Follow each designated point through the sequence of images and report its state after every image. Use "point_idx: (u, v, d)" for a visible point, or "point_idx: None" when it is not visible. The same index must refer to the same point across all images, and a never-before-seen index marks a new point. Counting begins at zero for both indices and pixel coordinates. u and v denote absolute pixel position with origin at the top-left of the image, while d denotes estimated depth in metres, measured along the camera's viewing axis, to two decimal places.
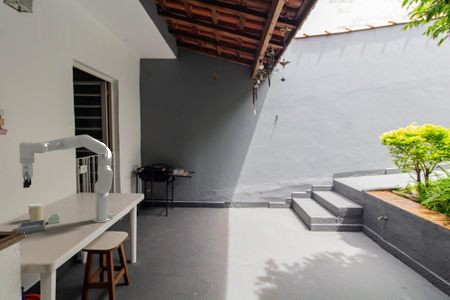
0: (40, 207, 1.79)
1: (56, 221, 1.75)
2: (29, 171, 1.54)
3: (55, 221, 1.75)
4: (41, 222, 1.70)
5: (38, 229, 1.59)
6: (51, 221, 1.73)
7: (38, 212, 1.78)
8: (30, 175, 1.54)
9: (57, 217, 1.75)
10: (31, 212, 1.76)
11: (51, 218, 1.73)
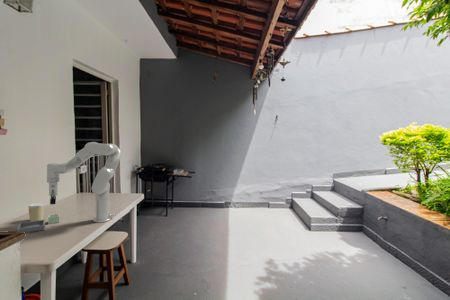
0: (40, 207, 1.79)
1: (56, 221, 1.75)
2: (55, 189, 1.72)
3: (55, 221, 1.75)
4: (41, 222, 1.70)
5: (38, 229, 1.59)
6: (51, 221, 1.73)
7: (38, 212, 1.78)
8: (56, 193, 1.73)
9: (57, 217, 1.75)
10: (31, 212, 1.76)
11: (51, 218, 1.73)
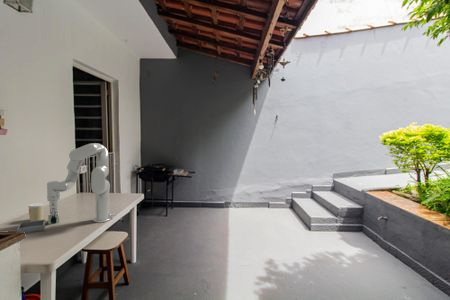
0: (40, 207, 1.79)
1: (56, 221, 1.75)
2: (56, 207, 1.73)
3: None
4: (41, 222, 1.70)
5: (38, 229, 1.59)
6: None
7: (38, 212, 1.78)
8: (56, 211, 1.74)
9: (57, 217, 1.75)
10: (31, 212, 1.76)
11: None
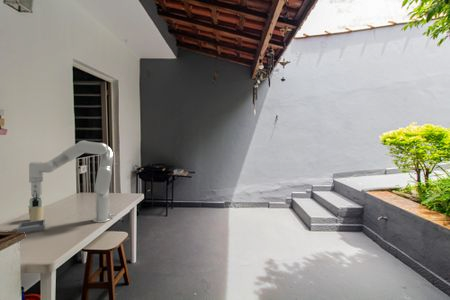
0: (40, 207, 1.79)
1: (38, 205, 1.63)
2: (38, 190, 1.61)
3: None
4: (41, 222, 1.70)
5: (38, 229, 1.59)
6: None
7: (38, 212, 1.78)
8: (39, 193, 1.62)
9: (39, 200, 1.63)
10: (31, 212, 1.76)
11: None
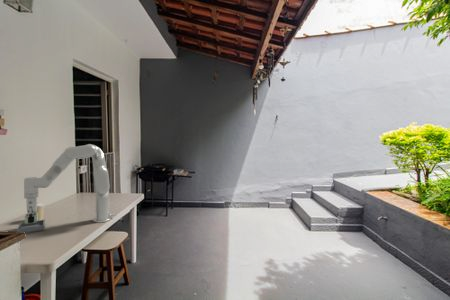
0: (40, 207, 1.79)
1: (34, 221, 1.61)
2: (33, 206, 1.59)
3: None
4: (41, 222, 1.70)
5: (38, 229, 1.59)
6: None
7: (38, 212, 1.78)
8: (34, 209, 1.59)
9: (35, 216, 1.61)
10: None
11: None
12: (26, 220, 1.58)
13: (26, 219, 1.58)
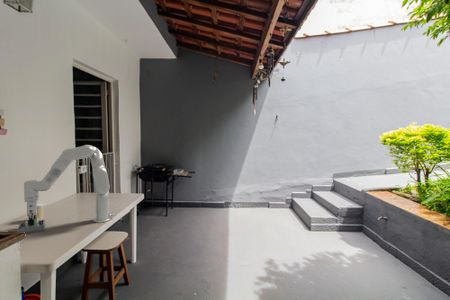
0: (40, 207, 1.79)
1: None
2: (33, 209, 1.59)
3: None
4: (41, 222, 1.70)
5: (38, 229, 1.59)
6: None
7: (38, 212, 1.78)
8: (34, 213, 1.59)
9: (35, 223, 1.61)
10: None
11: None
12: (27, 226, 1.59)
13: (27, 225, 1.59)
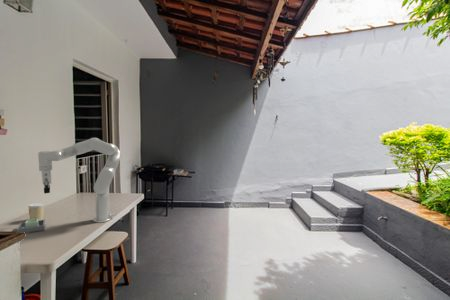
0: (40, 207, 1.79)
1: None
2: (48, 178, 1.66)
3: None
4: (41, 222, 1.70)
5: (38, 229, 1.59)
6: None
7: (38, 212, 1.78)
8: (49, 181, 1.67)
9: (35, 223, 1.61)
10: (31, 212, 1.76)
11: (28, 224, 1.59)
12: (27, 226, 1.59)
13: (27, 225, 1.59)
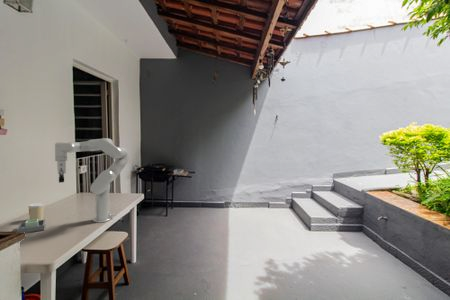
0: (40, 207, 1.79)
1: None
2: (63, 168, 1.75)
3: None
4: (41, 222, 1.70)
5: (38, 229, 1.59)
6: None
7: (38, 212, 1.78)
8: (64, 171, 1.76)
9: (35, 223, 1.61)
10: (31, 212, 1.76)
11: (28, 224, 1.59)
12: (27, 226, 1.59)
13: (27, 225, 1.59)
